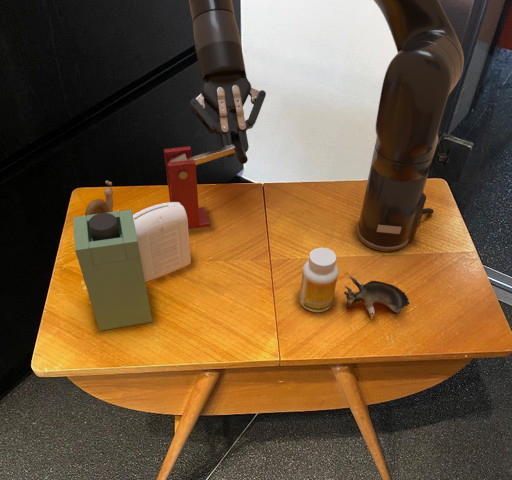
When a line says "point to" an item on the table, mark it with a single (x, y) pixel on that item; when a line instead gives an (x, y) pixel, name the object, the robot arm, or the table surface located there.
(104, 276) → the box
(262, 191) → the table surface
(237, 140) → the wooden lever
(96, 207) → the snail figurine
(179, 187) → the red lever stand
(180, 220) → the photo printer
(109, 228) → the button
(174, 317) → the table surface
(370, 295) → the toy triceratops
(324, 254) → the supplement bottle
